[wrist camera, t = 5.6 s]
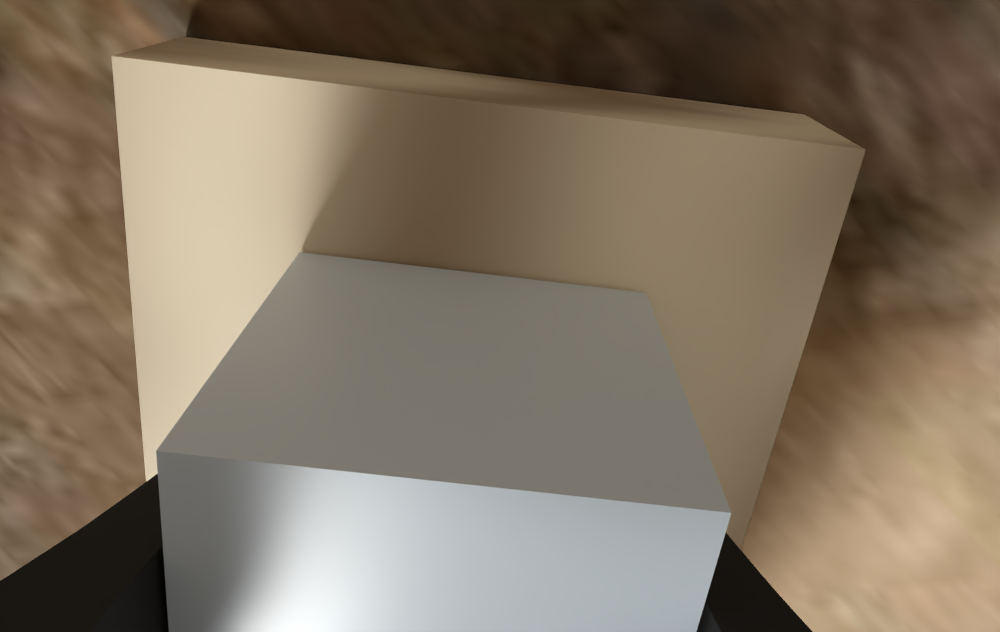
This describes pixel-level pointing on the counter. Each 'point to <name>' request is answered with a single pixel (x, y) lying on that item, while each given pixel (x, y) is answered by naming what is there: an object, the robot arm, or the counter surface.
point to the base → (475, 212)
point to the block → (439, 463)
